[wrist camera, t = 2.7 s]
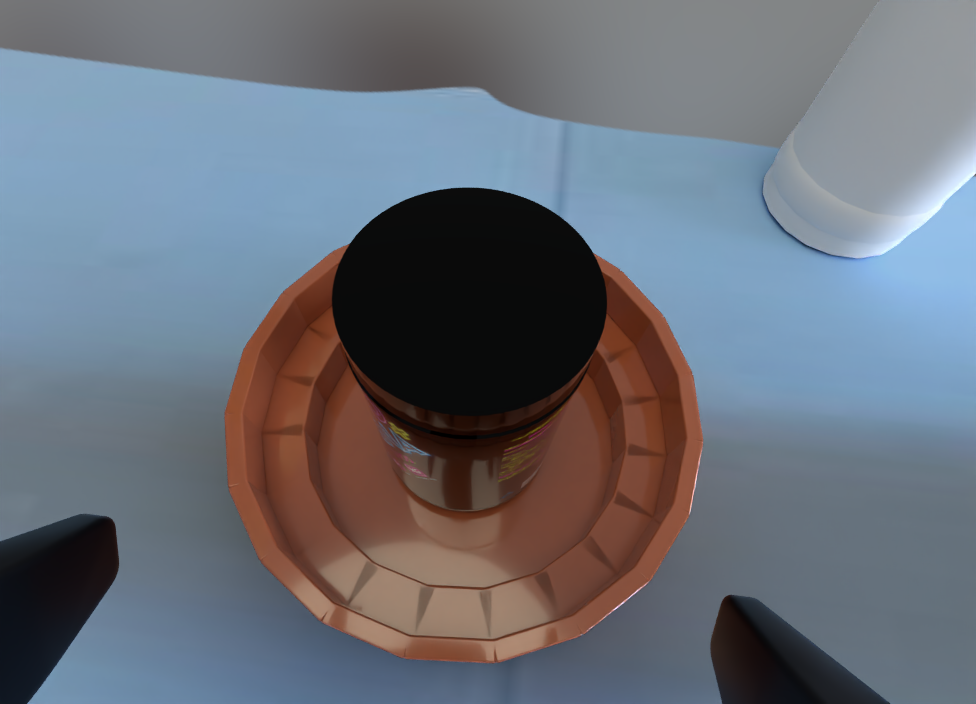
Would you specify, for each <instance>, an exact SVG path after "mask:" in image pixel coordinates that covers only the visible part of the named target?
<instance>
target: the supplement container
mask: <svg viewBox="0 0 976 704" xmlns="http://www.w3.org/2000/svg"><path fill="white" fill-rule="evenodd" d="M332 312H333V318H334V323H335V327H336V329H337V332H338V335H339V338H340V341H341V343H342V346H343V348H344V351H345V355H346V358H347V361H348V364H349V367H350V369H351V371H352V373H353V375H354V377H355V379H356V381H357V383H358V384H359V386H360V387H361V390H362V392H363V395H364V398H365V400H366V403H367V405H368V408H369V410H370V413H371V415H372V418H373V420H374V423H375V425H376V428H377V430H378V433H379V435H380V438H381V440H382V443H383V446H384V448H385V451H386V453H387V456H388V458H389V461H390V463H391V465H392V467H393V469H394V471H395V472H396V474H397V476H398V477H399V478H400V480H401V481H402V482H403V483H404V484H405V485H406V486H407V488H408V489H409V490H411V491H412V492H413V493H414V494H416V495H417V496H418V497H420V498H422V499H423V500H425V501H427V502H429V503H431V504H433V505H436V506H438V507H441V508H445V509H449V510H456V511H477V510H483V509H488V508H491V507H495V506H497V505H500V504H502V503H504V502H506V501H508V500H510V499H511V498H513V497H514V496H516V495H517V494H519V493H520V492H521V491H522V490H523V489H525V488H526V486H527V485H528V484H529V483H530V482H531V481H532V480H533V478H534V477H535V476H536V474H537V473H538V471H539V469H540V467H541V465H542V463H543V461H544V459H545V457H546V454H547V452H548V450H549V448H550V446H551V443H552V441H553V439H554V437H555V435H556V432H557V430H558V428H559V426H560V424H561V421H562V419H563V417H564V415H565V413H566V410H567V408H568V406H569V404H570V402H571V399H572V397H573V395H574V393H575V392H576V390H577V389H578V387H579V385H580V384H581V382H582V381H583V379H584V376H585V374H586V372H587V370H588V368H589V365H590V362H591V359H592V356H593V354H594V352H595V350H596V348H597V345H598V343H599V341H600V339H601V336H602V333H603V330H604V326H605V321H606V315H607V292H606V286H605V281H604V277H603V274H602V271H601V268H600V266H599V264H598V261H597V259H596V257H595V256H594V254H593V252H592V250H591V249H590V247H589V246H588V245H587V243H586V242H585V240H584V239H583V238H582V237H581V236H580V235H579V233H578V232H577V231H576V230H575V229H574V228H573V227H572V226H571V225H569V224H568V223H567V222H566V221H565V220H563V219H562V218H561V217H560V216H558V215H557V214H555V213H554V212H552V211H551V210H549V209H547V208H545V207H544V206H542V205H540V204H538V203H536V202H533V201H531V200H529V199H526V198H524V197H521V196H518V195H515V194H511V193H507V192H503V191H498V190H492V189H484V188H450V189H443V190H437V191H432V192H428V193H424V194H421V195H417V196H414V197H412V198H409V199H407V200H404V201H402V202H400V203H398V204H396V205H394V206H392V207H390V208H389V209H387V210H385V211H384V212H382V213H381V214H379V215H378V216H377V217H375V218H374V219H373V220H371V221H370V222H369V223H368V224H367V225H366V226H365V227H364V228H363V229H362V230H361V231H360V232H359V233H358V234H357V235H356V236H355V238H354V239H353V240H352V242H351V243H350V244H349V246H348V247H347V249H346V251H345V253H344V254H343V256H342V258H341V261H340V263H339V265H338V268H337V271H336V274H335V277H334V283H333V288H332Z"/></svg>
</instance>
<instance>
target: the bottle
mask: <svg viewBox="0 0 976 704" xmlns="http://www.w3.org/2000/svg"><path fill="white" fill-rule="evenodd" d="M974 174H976V0H879V1H878V3H877V4H876V5H875V7H874V9H873V10H872V12H871V13H870V15H869V16H868V18H867V20H866V21H865V22H864V24H863V26H862V27H861V29H860V30H859V32H858V34H857V35H856V37H855V38H854V39H853V41H852V42H851V44H850V46H849V47H848V49H847V50H846V52H845V53H844V55H843V56H842V58H841V59H840V61H839V63H838V64H837V66H836V67H835V69H834V70H833V72H832V73H831V75H830V76H829V78H828V80H827V81H826V82H825V84H824V86H823V87H822V89H821V90H820V92H819V93H818V95H817V96H816V98H815V99H814V101H813V103H812V104H811V106H810V107H809V109H808V110H807V112H806V113H805V115H804V116H803V118H802V119H801V120H800V122H799V123H798V124H797V126H796V127H795V128H794V129H793V131H792V132H791V133H790V135H789V136H788V138H787V139H786V140H785V142H784V144H783V145H782V146H781V148H780V150H779V151H778V153H777V155H776V157H775V161H774V163H773V164H772V166H771V167H770V169H769V170H768V172H767V173H766V175H765V176H764V185H763V196H764V198H765V201H766V204H767V206H768V209H769V212H770V213H771V214H772V215H773V216H774V218H775V219H776V220H777V221H778V222H779V224H780V225H781V226H782V227H783V228H784V230H785V231H787V232H788V233H790V234H791V235H792V236H794V237H795V238H797V239H798V240H800V241H801V242H802V243H804V244H805V245H807V246H810V247H813V248H815V249H818V250H820V251H823V252H825V253H828V254H830V255H837V256H844V257H851V258H865V257H871V256H878V255H882V254H883V253H885V252H887V251H888V250H890V249H892V248H893V247H895V246H896V245H898V244H899V243H900V242H901V241H902V240H903V239H904V238H905V237H907V236H908V235H909V234H910V233H912V232H913V231H915V230H916V229H918V228H919V227H920V226H922V225H923V224H924V223H925V222H926V221H928V220H929V219H930V218H931V217H932V216H933V215H934V214H935V213H936V212H937V211H938V210H939V209H940V208H941V207H942V206H943V204H944V202H945V201H946V200H947V199H948V198H949V197H950V196H951V195H953V194H954V193H955V192H956V191H957V190H958V189H959V188H960V187H961V186H962V185H964V184H965V183H966V182H967V181H968V180H969V179H970V178H971V177H972V176H973V175H974Z"/></svg>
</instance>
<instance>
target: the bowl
mask: <svg viewBox="0 0 976 704" xmlns="http://www.w3.org/2000/svg"><path fill="white" fill-rule="evenodd" d="M348 246H349V244H348V245H346V246H343V247H341V248H339V249H337V250H334V251H333V252H332V253H330V254H329V255H328V256H326V257H325V258H324V259H323V260H321V261H320V262H319V263H318V264H316V265H315V266H314V267H313V268H312V269H310V270H309V271H308V272H307V273H305V274H304V275H303V276H302V277H301V278H299V279H298V280H297V281H296V282H294V283H293V284H292V285H291V286H289V287H288V288H287V289H286V290H285V291H283V293H282V294H281V295H280V296H279V298H278V299H277V301H276V302H275V304H274V305H273V307H272V308H271V309H270V311H269V312H268V314H267V315H266V317H265V318H264V320H263V321H262V322H261V324H260V325H259V327H258V328H257V330H256V331H255V333H254V334H253V336H252V337H251V338H250V340H249V341H248V343H247V344H246V346H245V348H244V350H243V353H242V356H241V360H240V363H239V366H238V370H237V373H236V376H235V380H234V383H233V386H232V390H231V393H230V396H229V400H228V403H227V406H226V410H225V437H226V456H227V476H228V487H229V492H230V494H231V497H232V499H233V501H234V504H235V506H236V508H237V510H238V513H239V515H240V517H241V520H242V522H243V524H244V526H245V529H246V531H247V533H248V536H249V538H250V540H251V542H252V545H253V547H254V549H255V551H256V554H257V556H258V558H259V560H260V561H261V563H262V564H263V565H264V566H265V567H266V568H267V569H268V570H269V571H270V572H271V573H272V574H273V575H274V576H275V577H276V578H277V579H278V580H279V581H280V582H281V583H282V584H283V585H284V586H285V587H286V588H287V589H288V590H289V591H290V592H291V593H292V594H293V595H294V596H295V597H296V598H297V599H298V600H299V601H300V602H301V603H302V604H303V605H304V606H305V607H306V608H307V609H308V610H309V611H310V612H311V613H312V614H313V615H314V616H315V617H316V618H317V619H318V620H319V621H320V622H322V623H323V624H325V625H327V626H330V627H332V628H334V629H336V630H339V631H341V632H343V633H345V634H348V635H350V636H352V637H355V638H357V639H359V640H361V641H364V642H366V643H368V644H370V645H373V646H375V647H377V648H380V649H382V650H384V651H386V652H389V653H391V654H393V655H395V656H398V657H400V658H405V659H412V660H432V661H452V662H472V663H491V664H494V663H495V662H496V663H500V662H503V661H506V660H509V659H512V658H516V657H519V656H522V655H525V654H528V653H531V652H534V651H537V650H540V649H543V648H547V647H550V646H553V645H556V644H559V643H562V642H565V641H568V640H571V639H575V638H578V637H580V636H581V635H584V634H585V633H587V632H588V631H589V630H591V629H592V628H593V627H594V626H596V625H597V624H598V623H599V622H601V621H602V620H603V619H604V618H606V617H607V616H608V615H609V614H611V613H612V612H613V611H614V610H616V609H617V608H618V607H619V606H621V605H622V604H623V603H624V602H626V601H627V600H628V599H629V598H631V597H632V596H633V595H634V594H636V593H637V592H638V591H639V590H641V589H642V588H643V587H644V586H646V585H647V584H648V582H650V581H651V579H652V578H653V576H654V574H655V573H656V571H657V569H658V568H659V566H660V564H661V563H662V561H663V559H664V557H665V556H666V554H667V552H668V551H669V549H670V547H671V546H672V544H673V542H674V541H675V539H676V537H677V536H678V534H679V532H680V531H681V529H682V527H683V526H684V524H685V522H686V521H687V519H688V517H689V514H690V512H691V506H692V501H693V496H694V490H695V485H696V480H697V474H698V469H699V464H700V458H701V453H702V448H703V436H702V429H701V423H700V416H699V410H698V403H697V397H696V390H695V384H694V377H693V375H692V371H691V369H690V367H689V365H688V363H687V361H686V359H685V357H684V355H683V353H682V351H681V349H680V347H679V345H678V343H677V341H676V339H675V337H674V335H673V333H672V331H671V329H670V327H669V325H668V323H667V321H666V319H665V317H663V315H662V313H661V312H660V311H659V310H658V309H657V308H656V307H655V306H654V305H653V304H652V303H651V302H650V301H649V300H648V298H647V297H646V296H645V295H644V294H643V293H642V292H641V291H640V290H639V289H638V288H637V287H636V286H635V285H634V283H633V282H632V281H631V280H630V279H629V278H628V277H627V276H626V275H625V274H624V273H623V272H622V271H620V269H618V268H617V267H615V266H614V265H612V264H610V263H609V262H607V261H605V260H604V259H602V258H601V257H599V256H597V255H596V254H594V253H593V254H594V256H595V257H596V259H597V261H598V264H599V266H600V268H601V271H602V274H603V277H604V281H605V286H606V292H607V315H606V321H605V326H604V330H603V333H602V336H601V339H600V341H599V343H598V345H597V348H596V350H595V352H594V354H593V356H592V359H591V362H590V365H589V368H588V370H587V372H586V374H585V376H584V379H583V381H582V382H581V384H580V385H579V387H578V389H577V390H576V392H575V393H574V395H573V397H572V399H571V402H570V404H569V406H568V408H567V410H566V413H565V415H564V417H563V419H562V421H561V424H560V426H559V428H558V430H557V432H556V435H555V437H554V439H553V441H552V443H551V446H550V448H549V450H548V452H547V454H546V457H545V459H544V461H543V463H542V465H541V467H540V469H539V471H538V473H537V474H536V476H535V477H534V478H533V480H532V481H531V482H530V483H529V484H528V485H527V486H526V488H525V489H523V490H522V491H521V492H520V493H519V494H517V495H516V496H514V497H513V498H511V499H510V500H508V501H506V502H504V503H502V504H500V505H497V506H495V507H491V508H488V509H483V510H477V511H456V510H449V509H445V508H441V507H438V506H436V505H433V504H431V503H429V502H427V501H425V500H423V499H422V498H420V497H418V496H417V495H416V494H414V493H413V492H412V491H411V490H409V489H408V488H407V486H406V485H405V484H404V483H403V482H402V481H401V480H400V478H399V477H398V476H397V474H396V472H395V471H394V469H393V467H392V465H391V463H390V461H389V458H388V456H387V453H386V451H385V448H384V446H383V443H382V440H381V438H380V435H379V433H378V430H377V428H376V425H375V423H374V420H373V418H372V415H371V413H370V410H369V408H368V405H367V403H366V400H365V398H364V395H363V392H362V390H361V387H360V386H359V384H358V383H357V381H356V379H355V377H354V375H353V373H352V371H351V369H350V367H349V364H348V361H347V358H346V355H345V351H344V348H343V346H342V343H341V341H340V338H339V335H338V332H337V329H336V327H335V323H334V318H333V312H332V288H333V283H334V277H335V274H336V271H337V268H338V265H339V263H340V261H341V258H342V256H343V254H344V253H345V251H346V249H347V247H348Z"/></svg>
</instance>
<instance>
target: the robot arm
mask: <svg viewBox="0 0 976 704" xmlns="http://www.w3.org/2000/svg"><path fill="white" fill-rule="evenodd" d="M118 568H119V556H118V546H117V537H116V527H115V523H114V522H113V520H112V519H111V518H109V517H107V516H99V515H91V514H79V515H76V516H73V517H70V518H67V519H64V520H61V521H58V522H56V523H53V524H50V525H47V526H44V527H41V528H38V529H35V530H32V531H29V532H27V533H24V534H21V535H18V536H15V537H12V538H9V539H6V540H3V541H0V704H27V703H28V702H29V701H30V699H31V698H32V697H33V696H34V694H35V693H36V692H37V690H38V689H39V688H40V687H41V685H42V684H43V683H44V681H45V680H46V678H47V677H48V676H49V674H50V673H51V672H52V670H53V669H54V668H55V666H56V665H57V663H58V662H59V660H60V659H61V657H62V656H63V655H64V653H65V652H66V650H67V649H68V647H69V646H70V644H71V643H72V641H73V640H74V639H75V637H76V636H77V634H78V633H79V631H80V630H81V628H82V627H83V625H84V624H85V623H86V621H87V620H88V618H89V617H90V615H91V614H92V612H93V611H94V609H95V608H96V607H97V605H98V604H99V602H100V601H101V599H102V598H103V596H104V595H105V593H106V592H107V591H108V589H109V588H110V586H111V585H112V583H113V581H114V580H115V578H116V575H117V572H118ZM710 650H711V658H712V662H713V666H714V671H715V675H716V679H717V683H718V687H719V691H720V696H721V700H722V704H890V703H889V702H888V701H886V700H885V699H884V698H882V697H881V696H880V695H879V694H877V693H876V692H875V691H874V690H872V689H871V688H870V687H868V686H867V685H866V684H865V683H863V682H862V681H861V680H860V679H858V678H857V677H856V676H854V675H853V674H852V673H851V672H849V671H848V670H847V669H846V668H844V667H843V666H842V665H840V664H839V663H838V662H837V661H835V660H834V659H833V658H831V657H830V656H829V655H828V654H826V653H825V652H824V651H823V650H821V649H820V648H819V647H817V646H816V645H815V644H814V643H812V642H811V641H810V640H809V639H807V638H806V637H805V636H803V635H802V634H801V633H800V632H798V631H797V630H796V629H795V628H793V627H792V626H791V625H789V624H788V623H787V622H786V621H784V620H783V619H782V618H780V617H779V616H778V615H777V614H775V613H774V612H773V611H772V610H770V609H769V608H768V607H766V606H765V605H764V604H763V603H761V602H760V601H759V600H757V599H755V598H752V597H745V596H737V595H728V596H726V597H725V598H724V599H723V601H722V603H721V606H720V610H719V613H718V617H717V620H716V624H715V627H714V631H713V634H712V638H711V645H710Z"/></svg>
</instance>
